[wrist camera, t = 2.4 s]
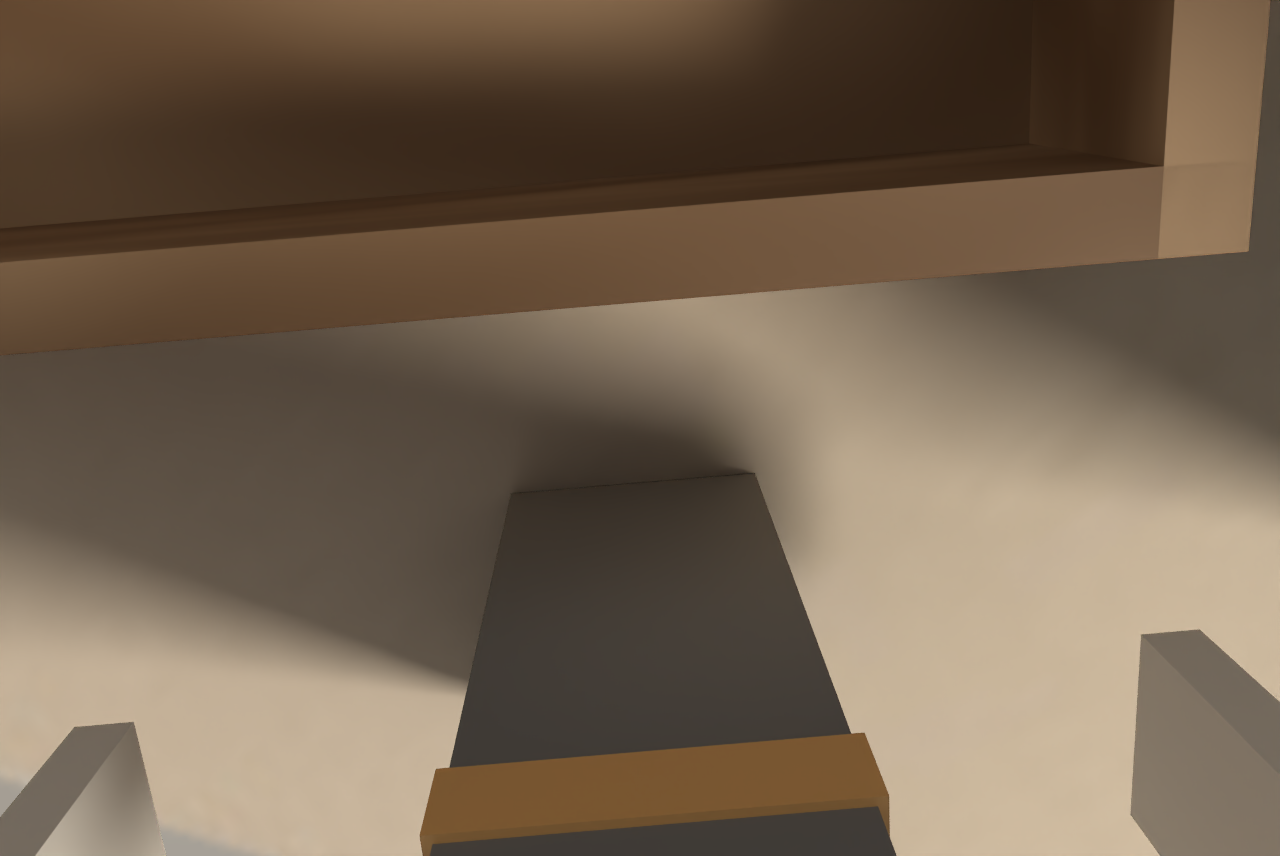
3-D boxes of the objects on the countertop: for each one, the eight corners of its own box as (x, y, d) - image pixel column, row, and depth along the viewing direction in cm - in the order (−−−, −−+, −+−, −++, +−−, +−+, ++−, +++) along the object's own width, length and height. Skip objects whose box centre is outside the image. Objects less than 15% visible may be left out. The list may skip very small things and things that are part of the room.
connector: (504, 488, 18) (393, 944, 9) (760, 466, 18) (929, 897, 9) (531, 711, 20) (462, 1322, 10) (770, 692, 20) (927, 1282, 10)
